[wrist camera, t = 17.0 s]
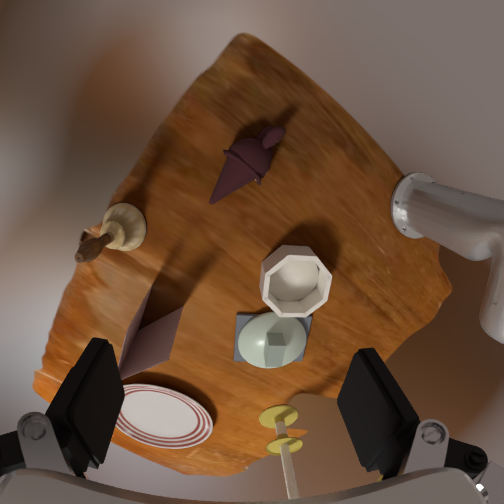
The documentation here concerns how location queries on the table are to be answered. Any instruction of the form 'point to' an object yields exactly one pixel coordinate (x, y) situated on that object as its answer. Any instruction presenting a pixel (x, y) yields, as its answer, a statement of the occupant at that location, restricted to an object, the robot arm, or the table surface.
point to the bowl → (294, 281)
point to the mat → (244, 318)
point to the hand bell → (115, 232)
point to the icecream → (246, 162)
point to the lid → (271, 340)
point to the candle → (283, 441)
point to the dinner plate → (163, 417)
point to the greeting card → (147, 342)
